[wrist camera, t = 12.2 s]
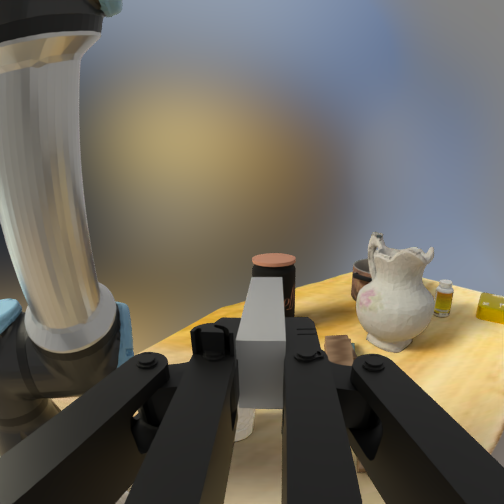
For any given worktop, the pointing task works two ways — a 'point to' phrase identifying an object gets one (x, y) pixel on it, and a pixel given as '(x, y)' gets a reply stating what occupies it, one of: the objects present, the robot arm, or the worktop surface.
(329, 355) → the domino
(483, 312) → the element tile
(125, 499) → the pillar candle
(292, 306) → the coffee jar
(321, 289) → the worktop surface
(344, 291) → the worktop surface
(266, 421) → the worktop surface
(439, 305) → the supplement bottle
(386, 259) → the ceramic pitcher
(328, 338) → the domino
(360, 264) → the cooking pot
